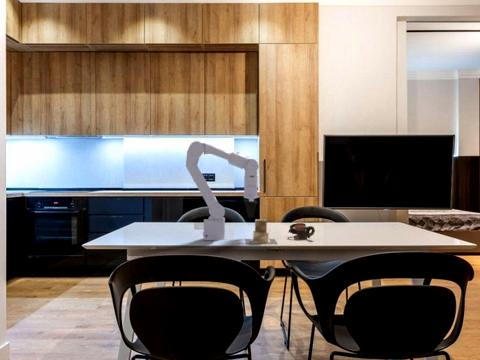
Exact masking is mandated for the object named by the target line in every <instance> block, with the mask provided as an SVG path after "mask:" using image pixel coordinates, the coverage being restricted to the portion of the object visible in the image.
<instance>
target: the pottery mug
mask: <svg viewBox="0 0 480 360" xmlns="http://www.w3.org/2000/svg"><path fill="white" fill-rule="evenodd" d="M315 231H316V229H315V227H314V226H311V225H310V226H306V224H305V223H304V222H297V223H293V224H291V225H290V226H289V230H288V232H287V233H288V234H289V233H290V234H292V235H293V240H295V241H296V240H299V241H300V240H301V241H302V240H303V241H304V240H306V241H308V239H310V238H311V237H312V236H313V235H314V234H315Z"/></svg>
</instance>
